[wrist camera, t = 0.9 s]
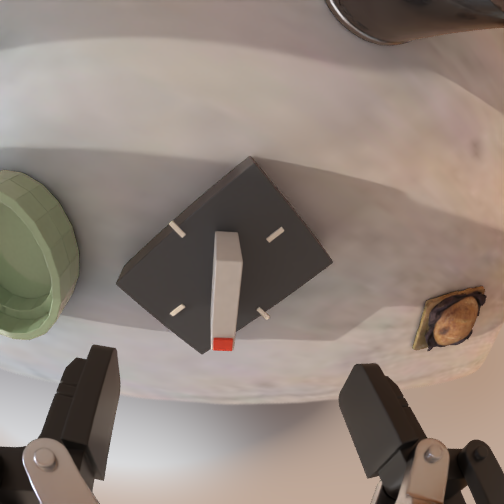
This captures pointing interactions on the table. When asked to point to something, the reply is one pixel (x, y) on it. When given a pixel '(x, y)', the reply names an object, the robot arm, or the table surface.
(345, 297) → the table surface
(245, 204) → the rotary switch dial
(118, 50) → the table surface
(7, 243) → the basin
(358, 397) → the robot arm
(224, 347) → the red tipped lever
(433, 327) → the open sandwich
